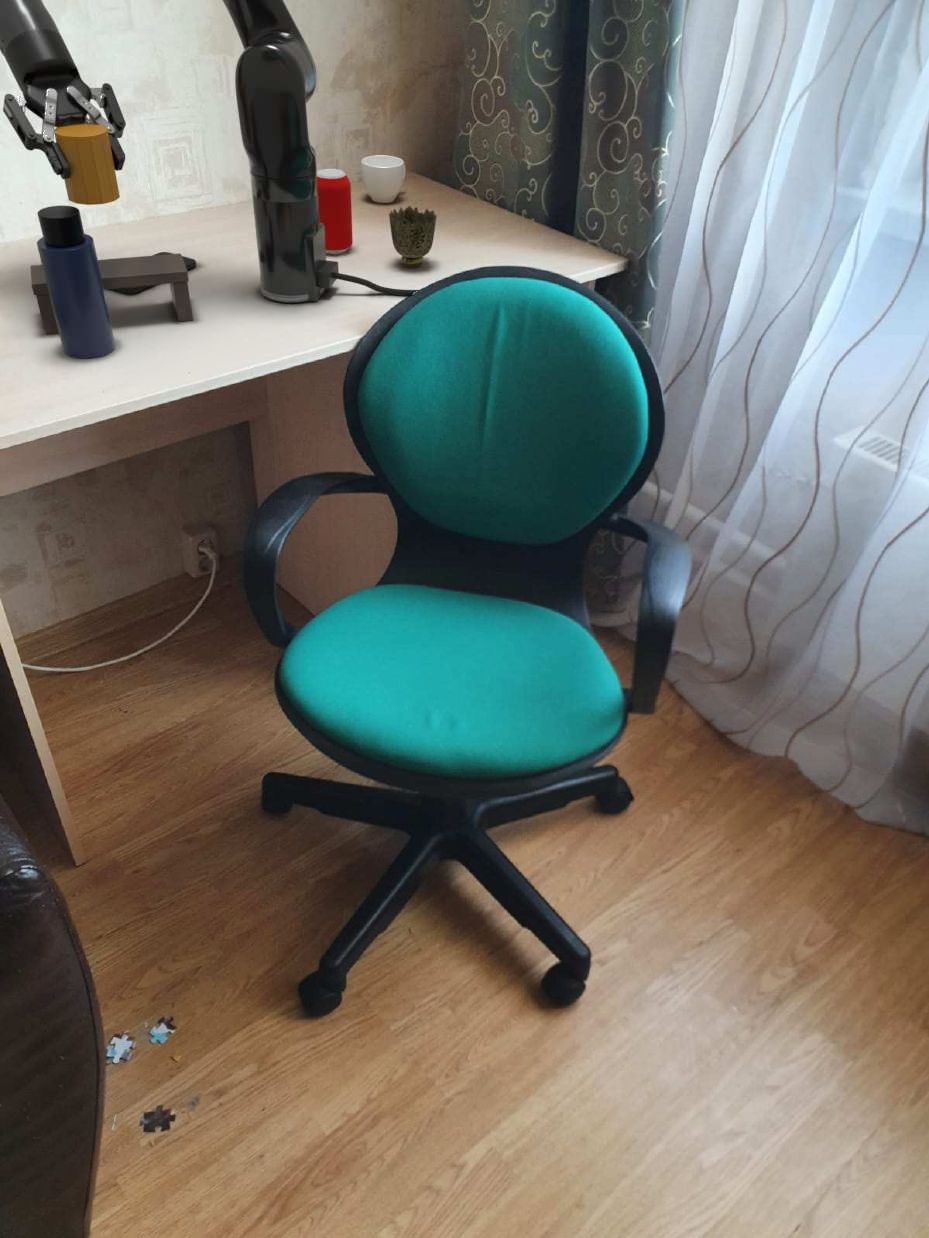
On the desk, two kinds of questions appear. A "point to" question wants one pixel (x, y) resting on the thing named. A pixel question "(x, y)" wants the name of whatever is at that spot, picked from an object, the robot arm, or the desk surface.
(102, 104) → the robot arm
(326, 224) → the beverage can
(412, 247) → the cup
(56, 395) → the desk surface
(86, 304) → the flask
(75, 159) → the cap
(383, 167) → the cup
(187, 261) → the phone
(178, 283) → the small brown bench
